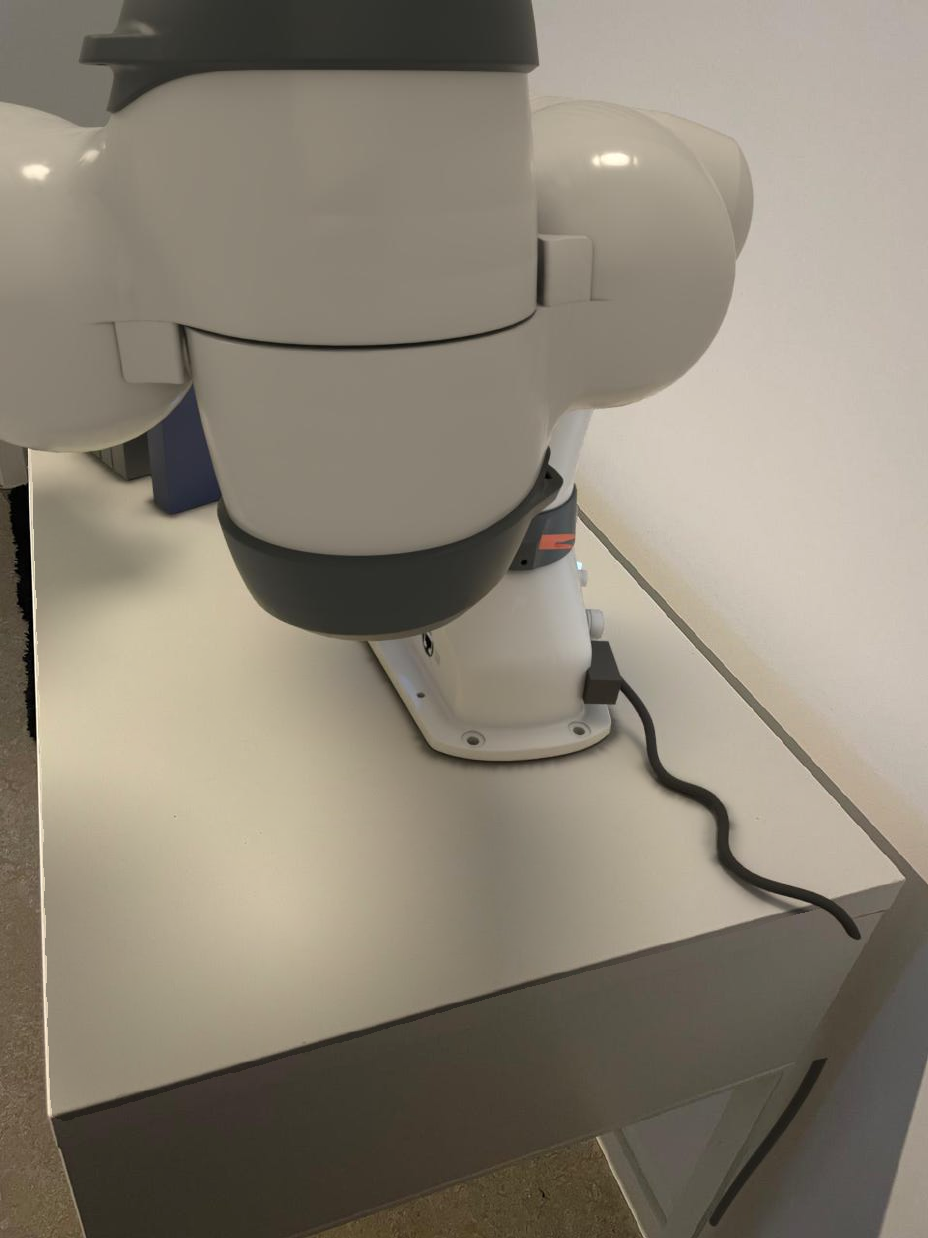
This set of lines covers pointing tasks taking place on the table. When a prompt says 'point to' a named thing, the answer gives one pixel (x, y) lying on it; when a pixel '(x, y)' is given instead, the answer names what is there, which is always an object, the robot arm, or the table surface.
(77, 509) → the table surface
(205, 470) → the navy book
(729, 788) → the table surface
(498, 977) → the table surface
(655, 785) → the table surface
